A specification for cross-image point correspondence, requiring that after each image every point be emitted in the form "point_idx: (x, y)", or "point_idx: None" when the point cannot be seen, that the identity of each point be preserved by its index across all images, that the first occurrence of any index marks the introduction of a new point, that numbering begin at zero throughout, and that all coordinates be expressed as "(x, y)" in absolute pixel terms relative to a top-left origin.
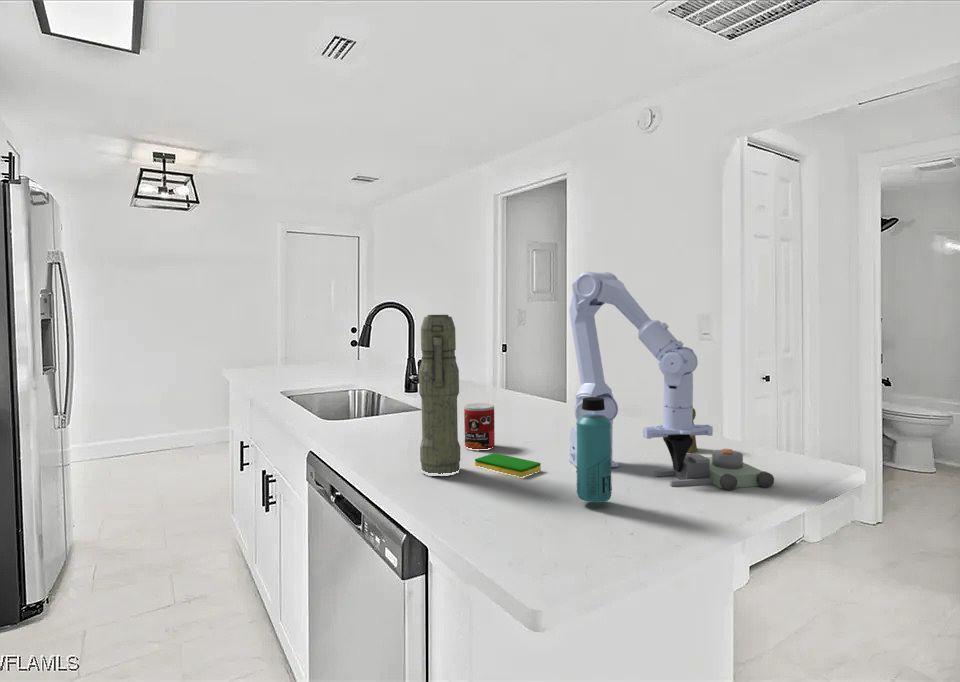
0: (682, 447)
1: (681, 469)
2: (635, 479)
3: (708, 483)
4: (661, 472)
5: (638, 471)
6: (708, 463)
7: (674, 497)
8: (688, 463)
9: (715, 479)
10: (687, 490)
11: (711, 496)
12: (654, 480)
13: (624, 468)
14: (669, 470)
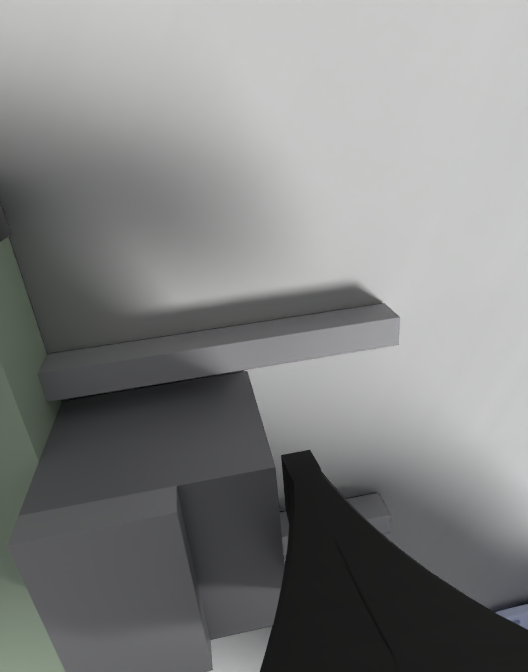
0: (380, 628)
1: (286, 464)
2: (518, 442)
3: (87, 349)
4: None
5: (425, 567)
6: (34, 506)
7: (499, 32)
8: (255, 478)
9: (23, 344)
10: (313, 208)
11: (176, 10)
12: (424, 427)
13: None
14: None
